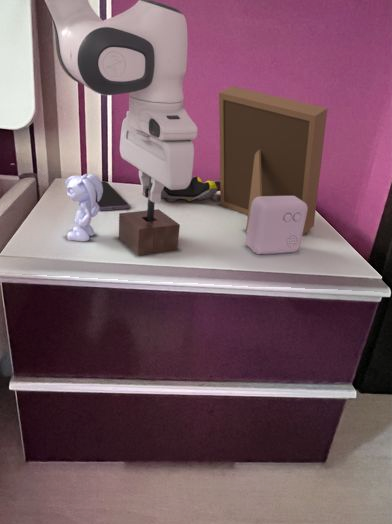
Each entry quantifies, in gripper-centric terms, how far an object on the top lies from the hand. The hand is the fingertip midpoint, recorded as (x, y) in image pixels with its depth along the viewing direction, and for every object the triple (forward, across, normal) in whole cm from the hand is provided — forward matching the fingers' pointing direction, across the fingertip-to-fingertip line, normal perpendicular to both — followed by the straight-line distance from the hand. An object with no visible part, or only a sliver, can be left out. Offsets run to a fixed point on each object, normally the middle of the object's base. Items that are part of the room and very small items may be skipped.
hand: (150, 198), depth 100 cm
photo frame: (+9, -4, +27) cm, 29 cm away
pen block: (+9, 0, 0) cm, 9 cm away
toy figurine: (+9, -7, -10) cm, 15 cm away
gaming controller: (+9, -21, +19) cm, 30 cm away
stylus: (+7, 0, 0) cm, 7 cm away
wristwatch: (+8, -18, +30) cm, 36 cm away
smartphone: (+9, -26, +2) cm, 28 cm away
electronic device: (+9, +10, +22) cm, 26 cm away
